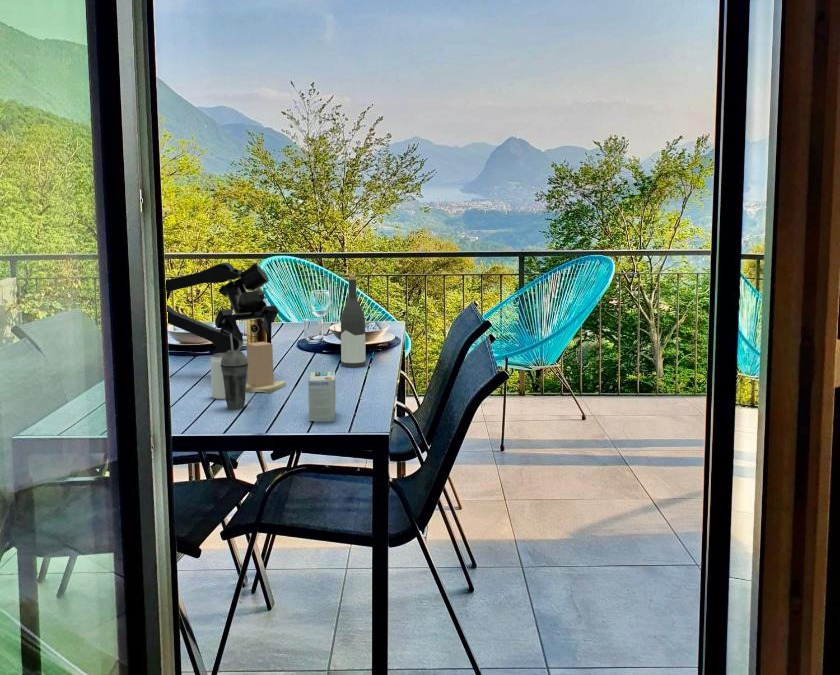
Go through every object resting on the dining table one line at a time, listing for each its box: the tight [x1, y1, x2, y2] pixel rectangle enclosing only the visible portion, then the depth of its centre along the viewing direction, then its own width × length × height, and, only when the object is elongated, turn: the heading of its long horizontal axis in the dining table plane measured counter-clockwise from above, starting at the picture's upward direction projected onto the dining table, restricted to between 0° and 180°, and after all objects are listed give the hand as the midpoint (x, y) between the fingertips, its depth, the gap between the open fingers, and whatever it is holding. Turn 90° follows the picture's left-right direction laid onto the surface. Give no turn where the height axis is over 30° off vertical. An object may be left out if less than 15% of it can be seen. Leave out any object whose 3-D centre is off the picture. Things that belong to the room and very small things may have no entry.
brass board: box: [246, 380, 287, 394], centre depth 255 cm, size 11×11×1 cm
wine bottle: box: [340, 274, 367, 369], centre depth 287 cm, size 8×8×30 cm
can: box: [210, 353, 226, 400], centre depth 243 cm, size 6×6×12 cm
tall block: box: [246, 341, 275, 387], centre depth 254 cm, size 6×6×12 cm
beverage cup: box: [220, 334, 248, 410], centre depth 231 cm, size 7×7×20 cm
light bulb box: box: [307, 371, 336, 423], centre depth 222 cm, size 11×7×11 cm, turn 5°
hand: (256, 338), depth 260 cm, fingers open, 9 cm apart
